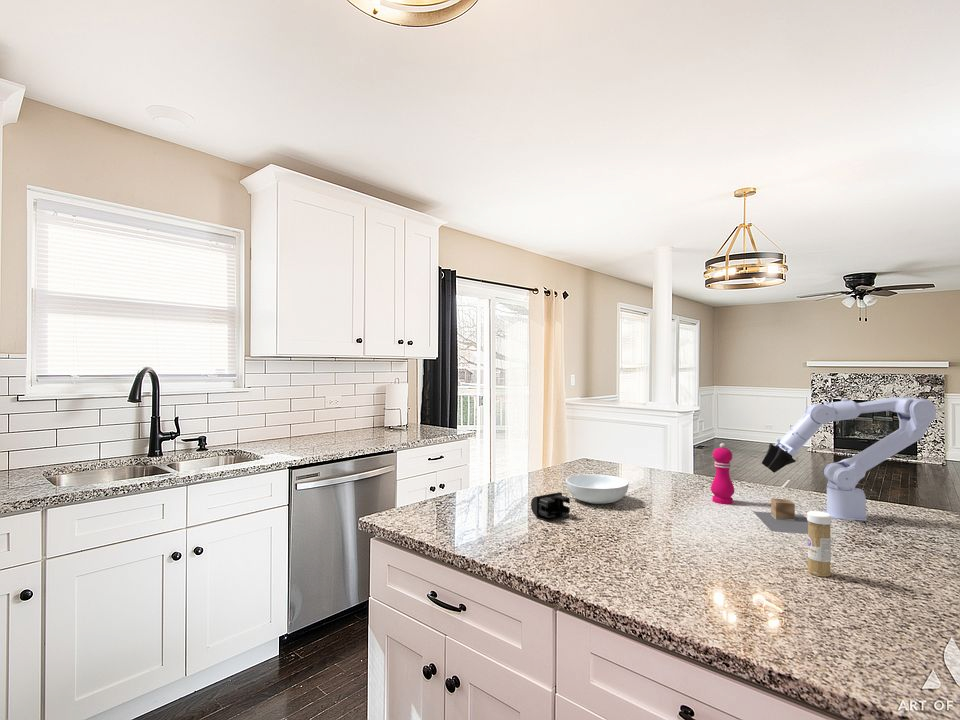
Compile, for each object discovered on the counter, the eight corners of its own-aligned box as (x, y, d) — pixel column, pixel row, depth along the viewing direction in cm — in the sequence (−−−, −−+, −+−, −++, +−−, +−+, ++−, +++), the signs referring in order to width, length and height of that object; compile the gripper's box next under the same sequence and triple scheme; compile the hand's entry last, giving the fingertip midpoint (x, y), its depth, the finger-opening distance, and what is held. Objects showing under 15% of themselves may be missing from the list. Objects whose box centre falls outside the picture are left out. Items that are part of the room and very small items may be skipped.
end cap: (555, 511, 166) (555, 490, 166) (570, 517, 160) (571, 495, 160) (530, 516, 160) (530, 494, 160) (545, 522, 154) (545, 499, 154)
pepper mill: (737, 506, 172) (737, 445, 172) (713, 504, 174) (713, 444, 174) (731, 500, 179) (731, 441, 180) (708, 499, 181) (708, 441, 181)
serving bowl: (554, 496, 184) (554, 477, 184) (602, 490, 193) (602, 472, 193) (590, 512, 165) (590, 490, 165) (642, 504, 174) (642, 484, 174)
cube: (789, 515, 160) (789, 499, 160) (794, 520, 156) (794, 503, 156) (771, 514, 162) (771, 498, 162) (775, 519, 157) (775, 502, 157)
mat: (802, 515, 162) (802, 514, 162) (828, 536, 142) (828, 535, 142) (752, 512, 165) (753, 511, 165) (771, 532, 146) (771, 531, 146)
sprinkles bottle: (802, 569, 119) (802, 510, 119) (821, 569, 120) (821, 510, 120) (817, 578, 115) (817, 516, 115) (836, 577, 115) (836, 515, 115)
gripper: (780, 424, 172) (751, 455, 174) (794, 430, 158) (762, 464, 160) (798, 438, 171) (769, 469, 173) (815, 446, 157) (782, 479, 159)
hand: (767, 467), depth 167 cm, fingers open, 7 cm apart
